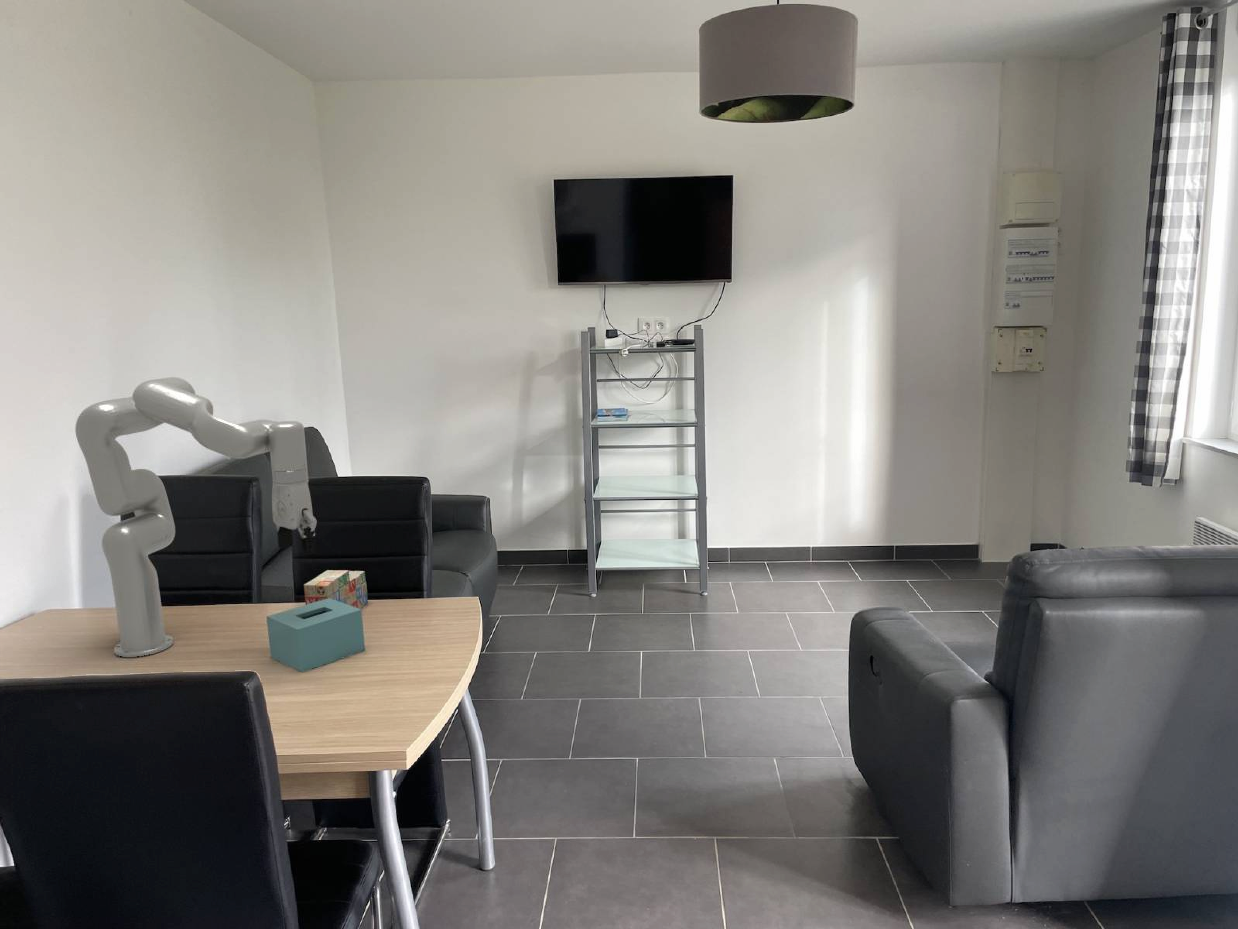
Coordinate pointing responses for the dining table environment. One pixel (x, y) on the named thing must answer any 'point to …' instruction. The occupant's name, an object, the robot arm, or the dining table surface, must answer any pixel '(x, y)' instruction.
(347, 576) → the stack of blocks
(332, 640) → the coin box
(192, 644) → the dining table surface
